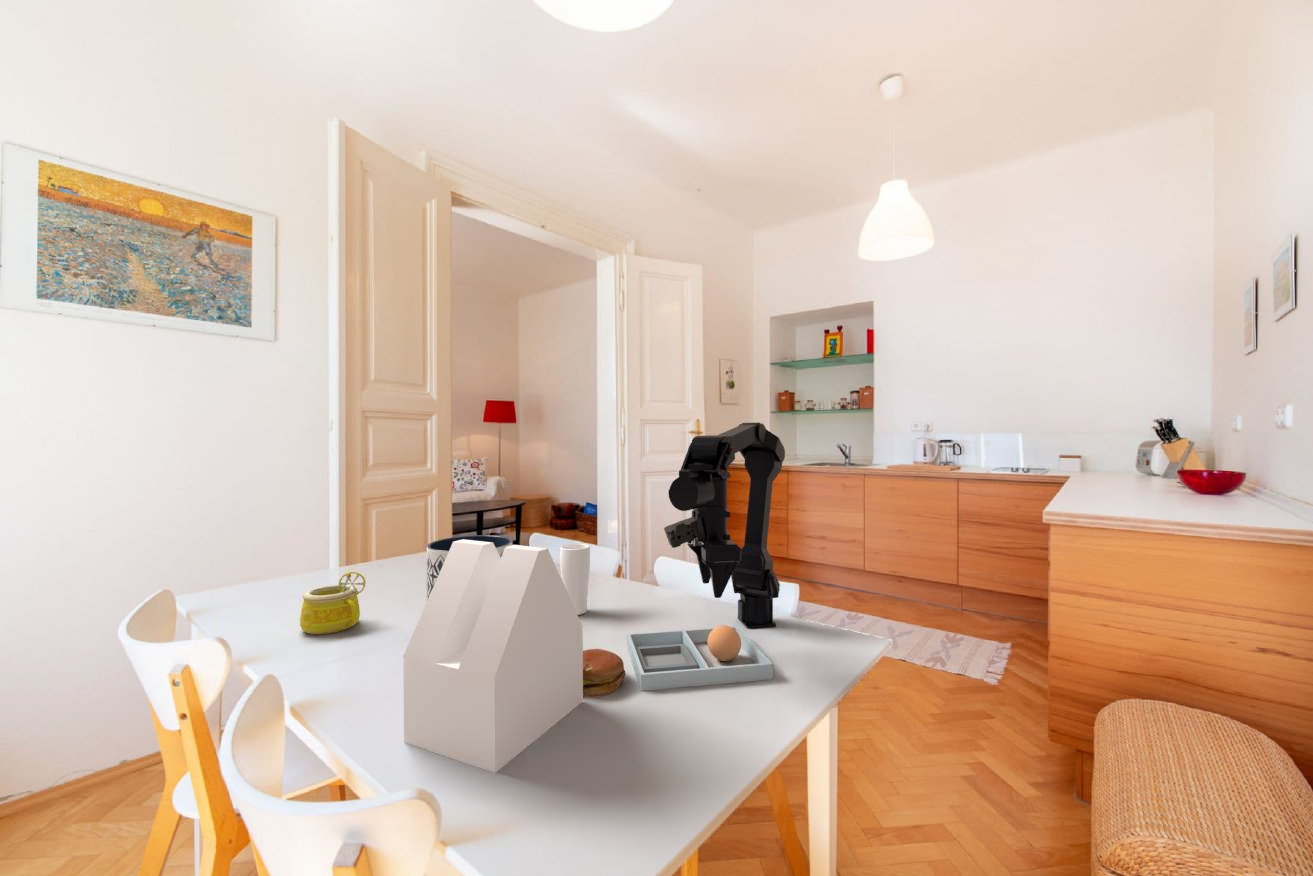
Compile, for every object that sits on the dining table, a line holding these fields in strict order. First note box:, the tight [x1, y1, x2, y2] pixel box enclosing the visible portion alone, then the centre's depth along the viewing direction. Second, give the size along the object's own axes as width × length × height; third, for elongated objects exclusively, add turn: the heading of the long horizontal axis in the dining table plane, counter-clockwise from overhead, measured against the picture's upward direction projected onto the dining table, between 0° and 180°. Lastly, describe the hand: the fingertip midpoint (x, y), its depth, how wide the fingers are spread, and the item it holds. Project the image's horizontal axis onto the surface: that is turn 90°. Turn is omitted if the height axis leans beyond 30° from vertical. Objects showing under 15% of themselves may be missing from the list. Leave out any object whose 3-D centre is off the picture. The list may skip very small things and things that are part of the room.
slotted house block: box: [402, 539, 584, 774], centre depth 77 cm, size 19×15×25 cm
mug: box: [299, 571, 367, 635], centre depth 113 cm, size 13×11×12 cm
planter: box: [426, 534, 514, 602], centre depth 121 cm, size 18×18×16 cm
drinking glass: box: [559, 543, 591, 616], centre depth 123 cm, size 7×7×15 cm
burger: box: [583, 648, 627, 697], centre depth 88 cm, size 10×9×5 cm
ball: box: [707, 624, 742, 662], centre depth 97 cm, size 6×6×6 cm
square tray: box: [635, 643, 698, 673], centre depth 95 cm, size 10×10×2 cm
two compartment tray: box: [626, 625, 774, 692], centre depth 96 cm, size 22×18×2 cm
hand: (711, 590), depth 99 cm, fingers open, 9 cm apart
